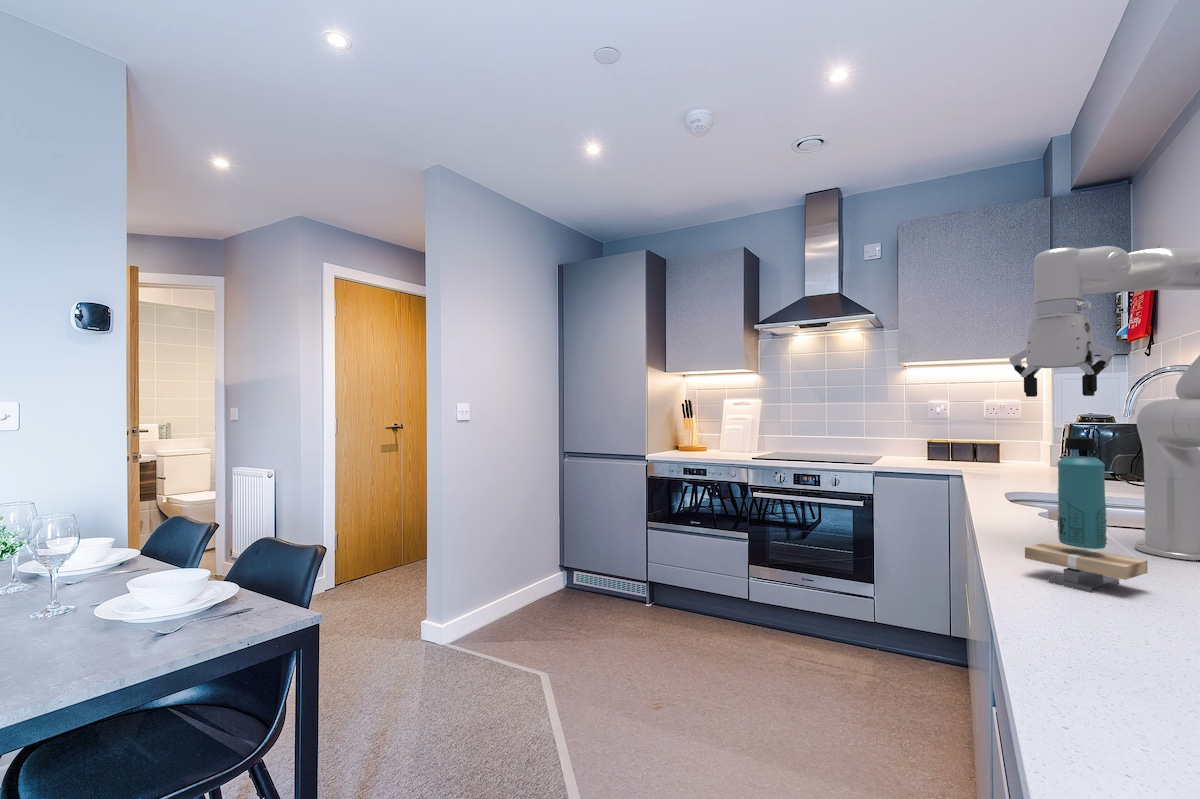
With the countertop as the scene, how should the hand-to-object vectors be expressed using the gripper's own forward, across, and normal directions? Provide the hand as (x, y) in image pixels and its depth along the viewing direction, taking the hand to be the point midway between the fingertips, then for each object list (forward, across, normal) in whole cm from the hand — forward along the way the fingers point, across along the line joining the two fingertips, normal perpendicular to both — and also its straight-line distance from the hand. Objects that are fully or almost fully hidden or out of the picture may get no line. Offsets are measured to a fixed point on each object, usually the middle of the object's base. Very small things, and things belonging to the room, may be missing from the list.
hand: (1058, 396), depth 114 cm
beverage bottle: (+28, -10, +16) cm, 33 cm away
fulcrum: (+32, -10, +16) cm, 37 cm away
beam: (+29, -10, +16) cm, 35 cm away
